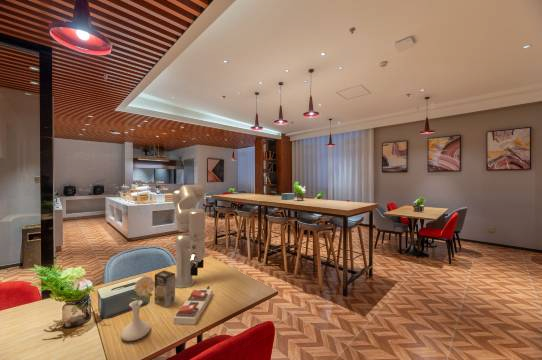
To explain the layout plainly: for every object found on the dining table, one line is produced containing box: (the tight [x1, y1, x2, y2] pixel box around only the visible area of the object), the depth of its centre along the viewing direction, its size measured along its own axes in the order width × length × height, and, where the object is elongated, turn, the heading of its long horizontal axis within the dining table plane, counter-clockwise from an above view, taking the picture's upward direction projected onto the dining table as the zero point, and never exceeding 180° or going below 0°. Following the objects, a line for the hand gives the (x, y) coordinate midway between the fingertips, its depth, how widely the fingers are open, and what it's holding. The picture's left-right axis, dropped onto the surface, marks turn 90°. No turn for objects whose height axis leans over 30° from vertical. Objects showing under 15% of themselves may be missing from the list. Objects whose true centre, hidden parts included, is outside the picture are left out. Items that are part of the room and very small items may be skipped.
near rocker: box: [177, 304, 196, 314], centre depth 114 cm, size 7×4×2 cm, turn 87°
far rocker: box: [189, 289, 206, 299], centre depth 128 cm, size 7×4×2 cm, turn 87°
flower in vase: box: [120, 275, 155, 342], centre depth 103 cm, size 13×11×25 cm
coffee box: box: [154, 270, 176, 308], centre depth 128 cm, size 9×6×16 cm
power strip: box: [173, 285, 214, 326], centre depth 128 cm, size 10×36×4 cm, turn 177°
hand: (197, 271), depth 115 cm, fingers open, 9 cm apart
